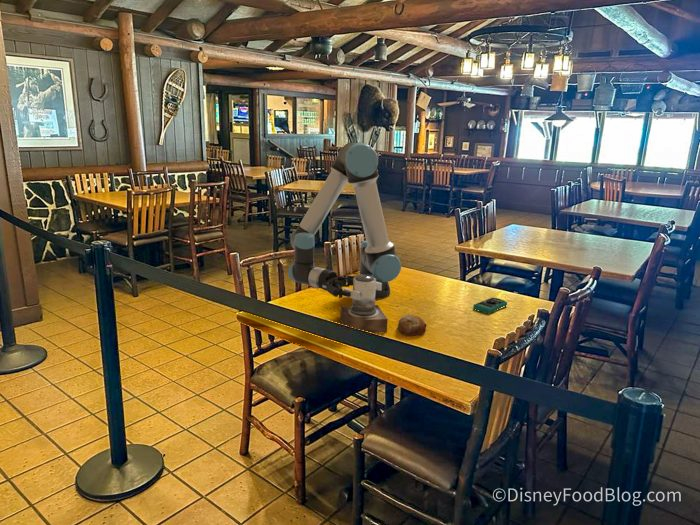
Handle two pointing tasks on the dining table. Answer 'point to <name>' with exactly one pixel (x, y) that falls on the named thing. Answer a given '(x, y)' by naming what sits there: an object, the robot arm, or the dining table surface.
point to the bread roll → (411, 325)
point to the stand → (364, 320)
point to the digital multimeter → (490, 305)
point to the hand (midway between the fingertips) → (370, 291)
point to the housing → (364, 295)
